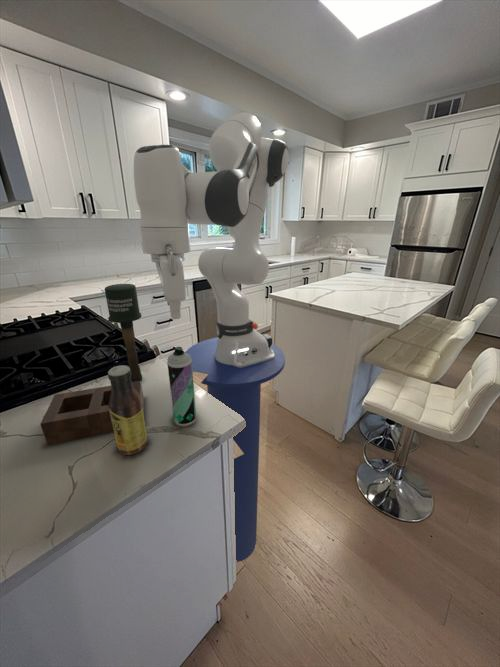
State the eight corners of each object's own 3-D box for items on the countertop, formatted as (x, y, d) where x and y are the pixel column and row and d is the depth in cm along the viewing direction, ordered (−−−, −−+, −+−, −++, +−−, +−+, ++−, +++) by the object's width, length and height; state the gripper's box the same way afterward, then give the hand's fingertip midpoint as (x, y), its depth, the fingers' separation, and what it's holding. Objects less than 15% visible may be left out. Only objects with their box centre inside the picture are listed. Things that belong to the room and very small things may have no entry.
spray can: (173, 414, 72) (165, 344, 64) (194, 410, 74) (189, 341, 66) (175, 428, 67) (166, 354, 60) (197, 423, 69) (191, 351, 61)
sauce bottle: (116, 442, 63) (98, 365, 55) (144, 432, 66) (131, 358, 58) (120, 462, 58) (102, 381, 50) (151, 450, 61) (138, 372, 53)
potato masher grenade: (115, 386, 84) (95, 288, 72) (134, 372, 91) (119, 282, 80) (138, 391, 81) (121, 291, 70) (156, 376, 89) (143, 284, 77)
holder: (143, 398, 78) (140, 380, 76) (143, 425, 68) (140, 405, 66) (60, 413, 72) (54, 394, 69) (47, 445, 62) (40, 423, 60)
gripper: (190, 247, 46) (196, 326, 51) (177, 239, 63) (182, 297, 69) (150, 248, 44) (160, 330, 49) (148, 239, 61) (156, 299, 67)
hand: (173, 310), depth 59 cm, fingers open, 8 cm apart
